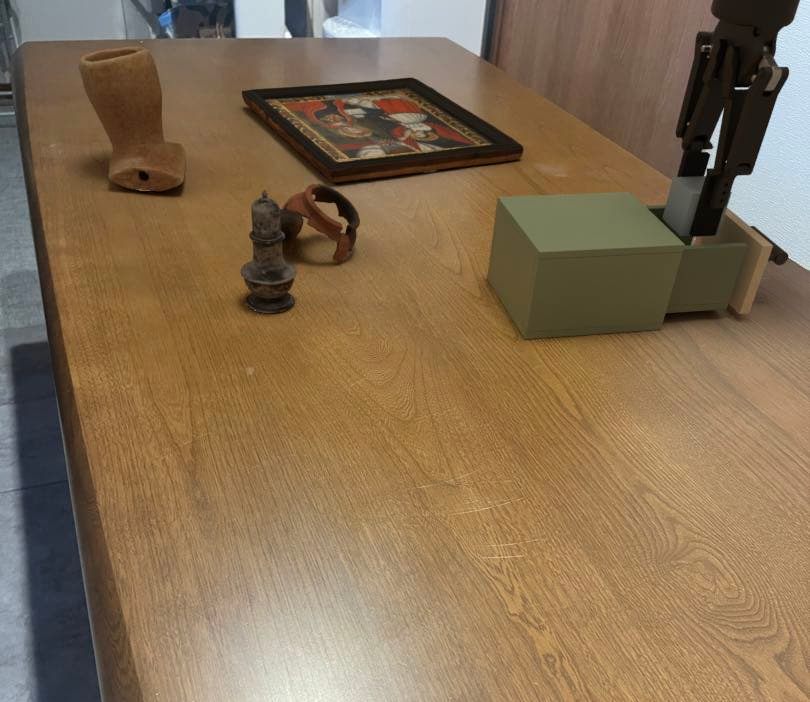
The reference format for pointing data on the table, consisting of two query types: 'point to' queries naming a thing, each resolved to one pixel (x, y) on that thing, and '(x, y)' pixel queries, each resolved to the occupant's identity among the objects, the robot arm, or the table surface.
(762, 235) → the drawer
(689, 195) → the block
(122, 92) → the clay pipe bowl
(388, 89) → the framed icon painting
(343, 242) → the broken clay pot
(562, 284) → the cabinet
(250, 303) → the salt shaker
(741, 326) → the table surface
